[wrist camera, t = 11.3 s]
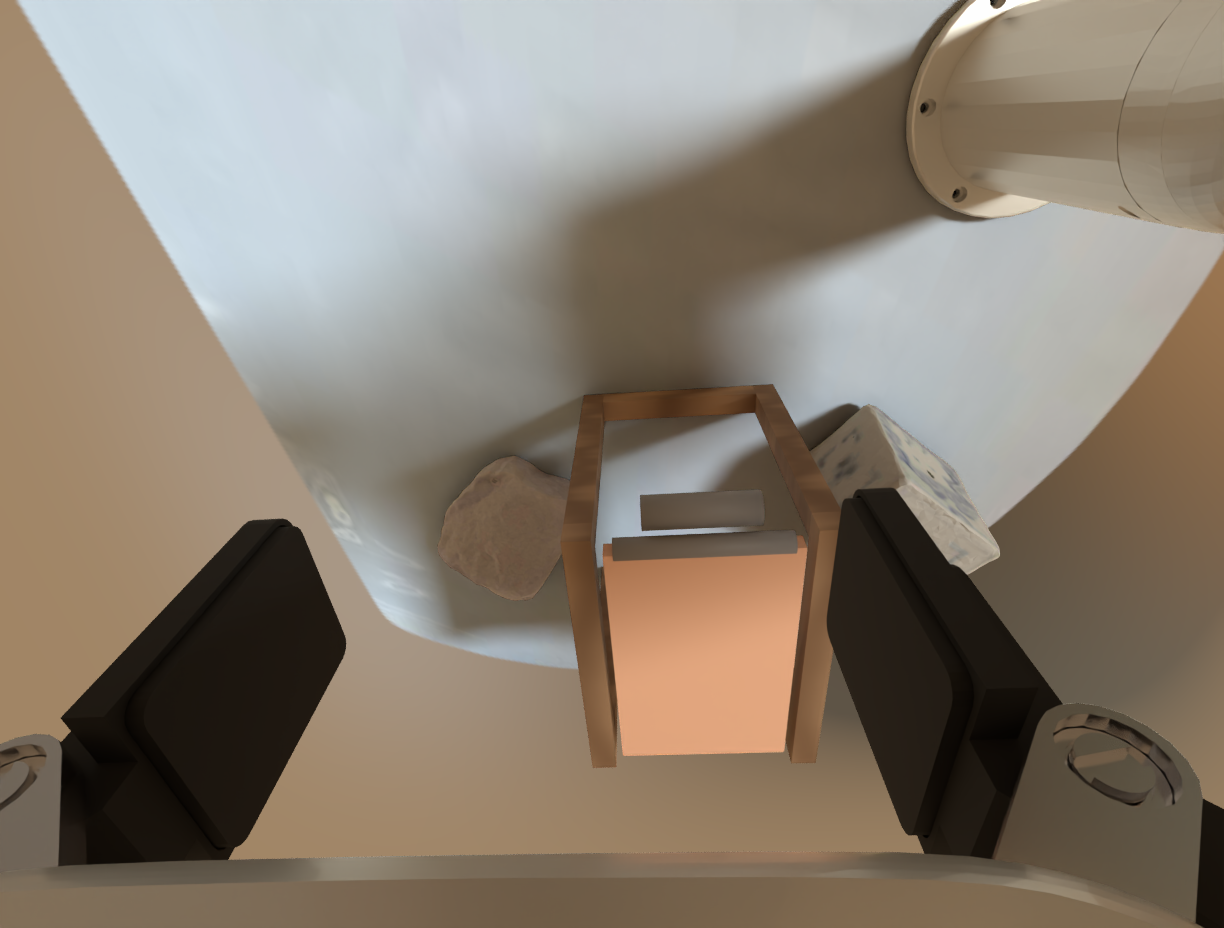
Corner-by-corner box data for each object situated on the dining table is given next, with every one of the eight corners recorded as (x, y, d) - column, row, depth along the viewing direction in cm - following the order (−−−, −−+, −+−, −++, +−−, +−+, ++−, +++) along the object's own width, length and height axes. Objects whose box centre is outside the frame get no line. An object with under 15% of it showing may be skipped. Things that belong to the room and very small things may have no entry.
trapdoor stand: (772, 384, 44) (851, 529, 28) (760, 573, 53) (815, 762, 37) (583, 395, 45) (560, 542, 29) (603, 579, 54) (592, 767, 38)
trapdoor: (798, 480, 30) (812, 510, 28) (775, 716, 39) (784, 753, 37) (600, 490, 31) (598, 519, 28) (623, 721, 40) (623, 757, 38)
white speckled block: (783, 470, 48) (819, 551, 39) (862, 393, 44) (922, 462, 35) (868, 530, 51) (920, 619, 42) (949, 462, 47) (1025, 543, 38)
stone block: (444, 531, 54) (538, 588, 54) (419, 558, 50) (522, 620, 50) (499, 426, 49) (602, 490, 50) (476, 447, 45) (590, 516, 45)
